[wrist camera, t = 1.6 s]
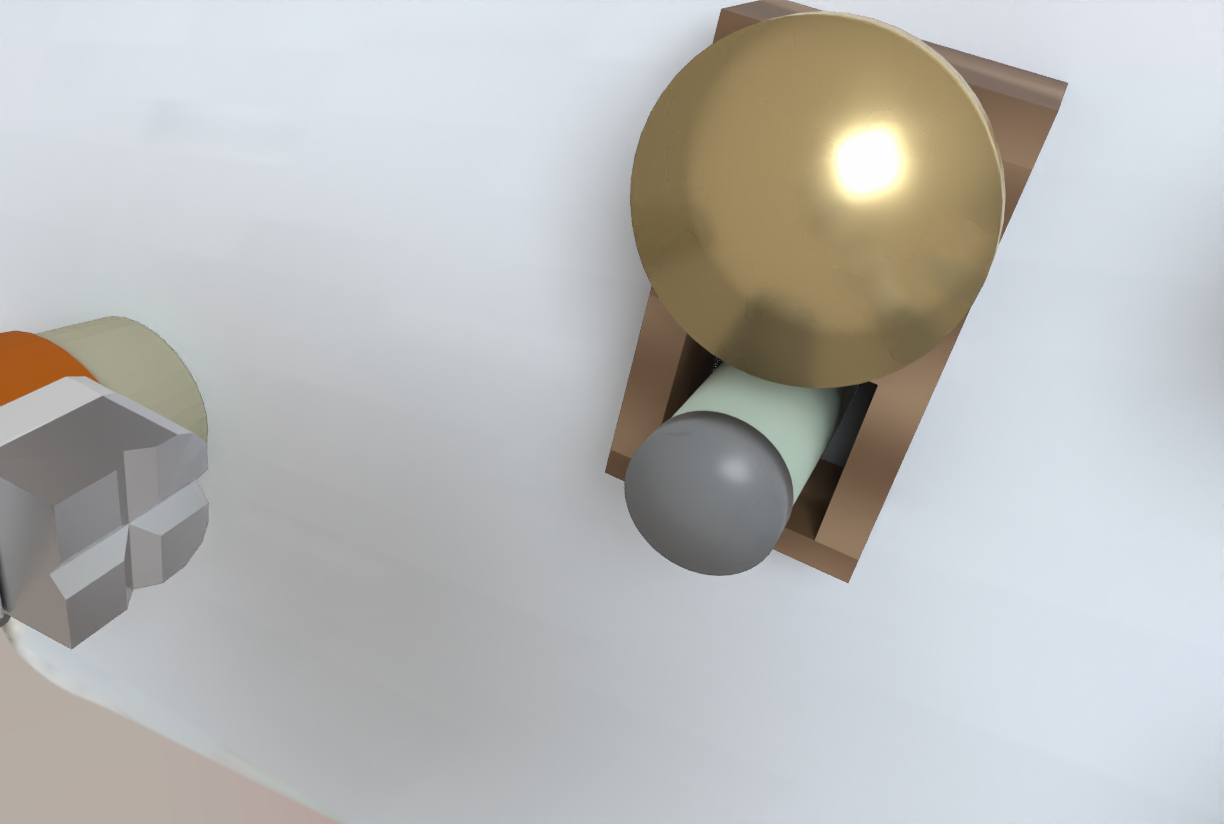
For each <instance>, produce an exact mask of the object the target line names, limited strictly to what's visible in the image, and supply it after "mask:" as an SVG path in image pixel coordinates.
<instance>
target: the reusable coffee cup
mask: <svg viewBox="0 0 1224 824" xmlns="http://www.w3.org/2000/svg"><path fill="white" fill-rule="evenodd" d="M79 376H86V377H88V378H90V379H91V380H93V381H95V382H97V383H99V384H101V385H103V386H105V387H106V388H108V389H110V390H112V391H114V392H116V393H118V394H120V395H123V396H125V397H127V398H129V399H131V400H133V401H135V402H136V403H138V404H140V405H142V406H144V407H146V408H148V409H150V410H151V411H153V412H155V413H157V414H159V415H161V416H163V417H165V418H166V419H168V420H170V421H172V422H174V423H176V424H178V425H180V426H181V427H183V428H185V429H187V430H189V431H191V432H193V433H194V434H196V435H197V436H198V437H200V438H201V439H202V440H204V441H205V442H206V443H207V432H208V427H207V417H206V412H205V408H204V404H203V400H202V397H201V395H200V393H199V390H198V388H197V385H196V383H195V381H194V379H193V378H192V376H191V374H190V372H189V371H188V369H187V367H186V366H185V364H184V363H183V362H182V360H181V359H180V358H179V356H178V355H177V354H176V352H175V351H174V350H173V349H172V348H171V347H170V346H169V345H168V344H167V343H166V342H165V341H164V340H163V339H162V338H161V337H159V336H158V335H157V334H156V333H154V332H153V331H152V330H150V329H149V328H147V327H145V326H144V325H142V324H140V323H138V322H136V321H133V320H130V319H127V318H123V317H115V316H112V317H106V318H101V319H96V320H92V321H88V322H84V323H80V324H75V325H71V326H67V327H63V328H59V329H54V330H50V331H46V332H42V333H38V334H32V333H28V332H21V331H11V332H4V333H0V407H1V406H3V405H5V404H7V403H9V402H12V401H14V400H16V399H18V398H20V397H23V396H25V395H27V394H29V393H31V392H33V391H36V390H38V389H40V388H42V387H44V386H47V385H49V384H51V383H53V382H55V381H58V380H60V379H62V378H64V377H79ZM3 615H4V616H3V617H2V618H0V627H2V626H3V625H4V624H6V623H7V622H8V621H9V619H10V617H11V616H9V615H8V614H6V613H4V612H3Z"/></svg>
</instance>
